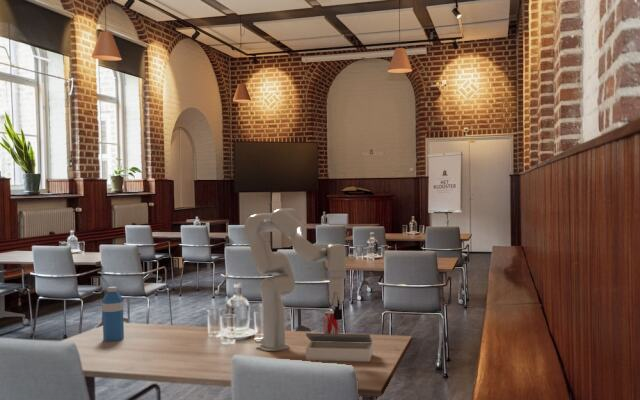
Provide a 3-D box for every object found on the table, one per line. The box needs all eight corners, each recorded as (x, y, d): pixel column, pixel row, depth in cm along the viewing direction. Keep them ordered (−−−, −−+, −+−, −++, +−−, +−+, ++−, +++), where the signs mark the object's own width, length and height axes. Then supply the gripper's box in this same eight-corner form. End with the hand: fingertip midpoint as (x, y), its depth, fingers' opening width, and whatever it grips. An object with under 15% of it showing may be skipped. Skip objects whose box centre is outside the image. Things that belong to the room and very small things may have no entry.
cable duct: (306, 360, 256) (306, 348, 256) (311, 353, 267) (311, 341, 267) (369, 361, 252) (369, 349, 252) (372, 354, 263) (372, 342, 263)
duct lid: (306, 335, 257) (306, 333, 258) (311, 341, 267) (311, 338, 268) (369, 336, 253) (369, 334, 253) (372, 342, 263) (372, 340, 263)
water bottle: (103, 337, 305) (102, 286, 304) (123, 336, 308) (122, 285, 307) (103, 342, 296) (101, 289, 296) (123, 340, 299) (122, 288, 298)
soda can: (337, 339, 291) (336, 313, 291) (322, 338, 293) (321, 313, 293) (339, 335, 298) (339, 310, 298) (325, 335, 300) (324, 310, 300)
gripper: (330, 272, 264) (331, 315, 264) (324, 276, 249) (326, 323, 250) (348, 272, 263) (349, 315, 263) (343, 276, 248) (344, 323, 248)
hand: (338, 319), depth 256 cm, fingers closed
